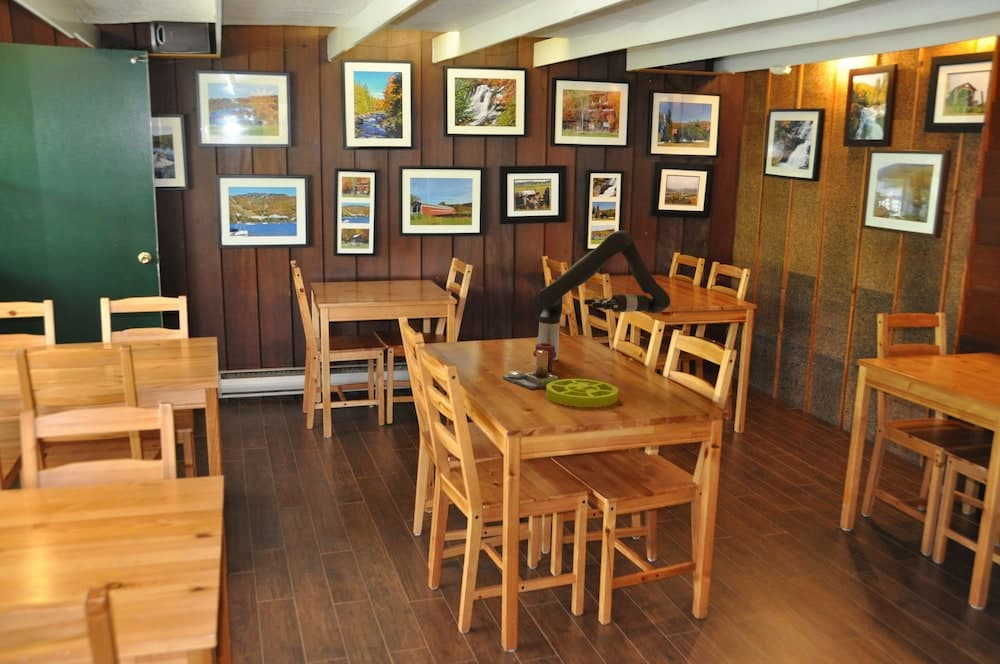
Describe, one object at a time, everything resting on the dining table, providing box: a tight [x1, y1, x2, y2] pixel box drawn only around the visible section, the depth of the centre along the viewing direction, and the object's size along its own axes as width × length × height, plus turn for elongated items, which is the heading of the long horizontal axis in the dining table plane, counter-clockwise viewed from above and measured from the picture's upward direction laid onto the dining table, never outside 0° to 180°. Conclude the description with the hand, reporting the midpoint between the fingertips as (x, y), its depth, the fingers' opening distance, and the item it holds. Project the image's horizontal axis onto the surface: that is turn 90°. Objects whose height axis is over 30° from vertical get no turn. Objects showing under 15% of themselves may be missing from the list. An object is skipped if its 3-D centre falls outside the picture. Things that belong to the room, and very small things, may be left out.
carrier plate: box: [502, 370, 559, 390], centre depth 368 cm, size 20×16×3 cm
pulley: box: [545, 378, 619, 408], centre depth 347 cm, size 28×28×5 cm
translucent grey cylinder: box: [534, 350, 548, 379], centre depth 366 cm, size 6×6×12 cm
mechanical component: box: [533, 342, 556, 372], centre depth 387 cm, size 12×10×10 cm
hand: (588, 303), depth 371 cm, fingers open, 8 cm apart
